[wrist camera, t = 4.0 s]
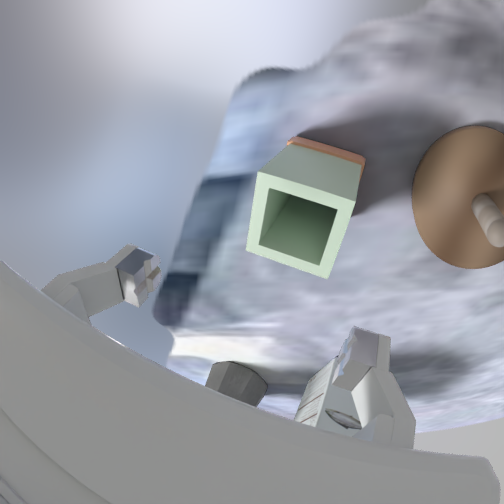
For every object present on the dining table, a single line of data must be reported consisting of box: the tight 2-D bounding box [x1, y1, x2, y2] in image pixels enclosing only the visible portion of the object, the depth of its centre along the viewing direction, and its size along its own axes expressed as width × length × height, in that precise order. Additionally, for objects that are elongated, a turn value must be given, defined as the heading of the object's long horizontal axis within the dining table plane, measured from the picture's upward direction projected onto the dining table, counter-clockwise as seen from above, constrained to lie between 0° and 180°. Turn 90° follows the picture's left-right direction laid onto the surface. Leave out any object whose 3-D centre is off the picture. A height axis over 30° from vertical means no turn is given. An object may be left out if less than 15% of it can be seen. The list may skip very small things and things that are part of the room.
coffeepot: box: [205, 362, 268, 407], centre depth 36 cm, size 15×9×18 cm, turn 104°
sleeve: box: [246, 136, 366, 279], centre depth 19 cm, size 5×5×8 cm
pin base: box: [412, 126, 504, 269], centre depth 15 cm, size 11×11×6 cm
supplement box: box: [294, 357, 362, 437], centre depth 29 cm, size 7×7×13 cm
